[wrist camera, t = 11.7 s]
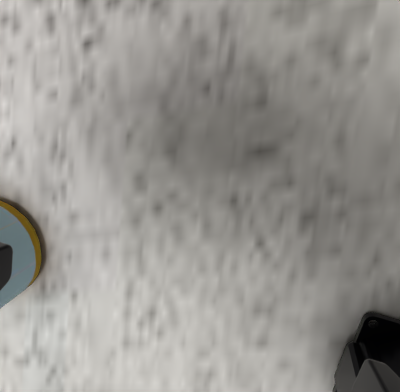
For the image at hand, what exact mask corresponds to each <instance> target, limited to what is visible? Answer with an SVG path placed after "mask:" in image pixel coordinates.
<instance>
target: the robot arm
mask: <svg viewBox="0 0 400 392" xmlns="http://www.w3.org/2000/svg"><path fill="white" fill-rule="evenodd" d="M12 261H13V248H12V247H11V245H9V244H5V243H2V242H0V291H1V290H2V288H3V287H4V286H5V285H6V284H7V283H8V281H9V279H10V277H11V274H12ZM371 320H375V321H376V323H374V324H370V323H369V322H370V321H371ZM334 377H335V383H336V384H335V387H334V389H333V392H400V320H397V319H394V318H391V317H387V316H384V315H381V314H377V313H373V312H370V313H367V314H365V315H364V317H363V318H362V321H361V323H360V326H359V328H358V331H357V333H356V336H355V338H354V340H353V342H352V341H351V342H350V343H348V344H347V345H346V348H345V350H344V353H343V355H342V358H341V360H340V363H339V365H338V368H337V370H336V373H335V376H334Z"/></svg>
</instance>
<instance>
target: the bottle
mask: <svg viewBox="0 0 400 392" xmlns="http://www.w3.org/2000/svg"><path fill="white" fill-rule="evenodd" d="M0 242H2V243H5V244H9V245H11V247H12V248H13V261H12V274H11V277H10V279H9V281H8V283H7V284H6V285H5V286H4V287H3V288H2V290H1V291H0V308H1V307H3V306H4V305H5V304H7V303H8V302H9V301H11V300H12V299H13V298H15V297H16V296H17V295H18V294H20V293H21V292H22V291H24V290H25V289H26V288H27V287H28V286H30V285H31V284H32V283H33V281H34V280H35V278H36V277H37V275H38V273H39V270H40V266H41V248H40V242H39V239H38V236H37V234H36V231H35V229H34V227H33V226H32V225H31V223H30V222H29V221H28V219H27V218H26V217H25V216H24V215H23V214H21V213H20V212H19V211H18V210H16V209H15V208H14V207H12V206H11V205H9V204H7V203H5V202H2V201H0Z"/></svg>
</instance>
